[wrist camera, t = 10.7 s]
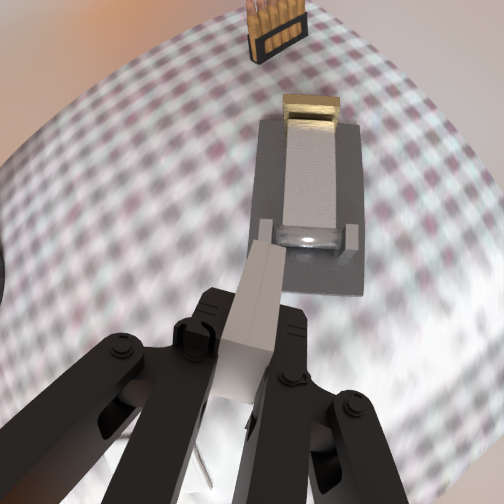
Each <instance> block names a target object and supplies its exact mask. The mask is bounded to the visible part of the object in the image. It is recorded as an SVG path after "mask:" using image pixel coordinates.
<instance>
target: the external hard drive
mask: <svg viewBox="0 0 504 504" xmlns="http://www.w3.org/2000/svg"><path fill="white" fill-rule="evenodd" d="M128 440H129V438H124V439H116V440H115V442H114V443H113V444H112V445H111V446H110V447H109V448H108V450H107V451H106V452H105V453H104V456H105V458H106V461H107V463H108V465H109V467H110V470H111V472H112V474H114V472H115V470H116V467H117V465H118V463H119V461H120V458H121V456H122V454H123V452H124V449H125V447H126V445H127V443H128ZM212 488H213V487H212V485H211V483H210V481H209V478H208V476H207V474H206V472H205V469H204V467H203V465H202V464H201V462H200V460H199V457H198V452H197V450H196V447H195V445H194V448H193V451H192V454H191V458H190V461H189V464H188V467H187V471H186V474H185V477H184V480H183V484H182V487H181V490H180V493H179V494H181V493H192V492H201V491H210V490H212Z"/></svg>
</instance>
